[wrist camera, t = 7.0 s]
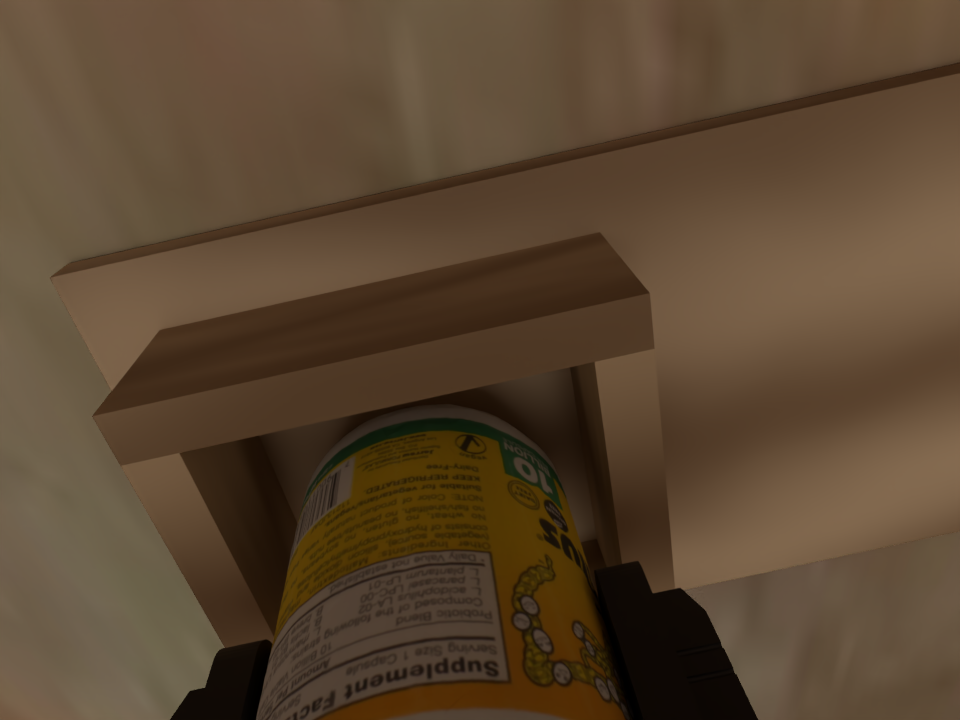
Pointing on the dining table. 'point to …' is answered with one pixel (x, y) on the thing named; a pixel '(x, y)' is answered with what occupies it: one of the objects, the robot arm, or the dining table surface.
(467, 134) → the dining table surface
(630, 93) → the dining table surface
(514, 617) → the supplement bottle
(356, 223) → the wooden stand
